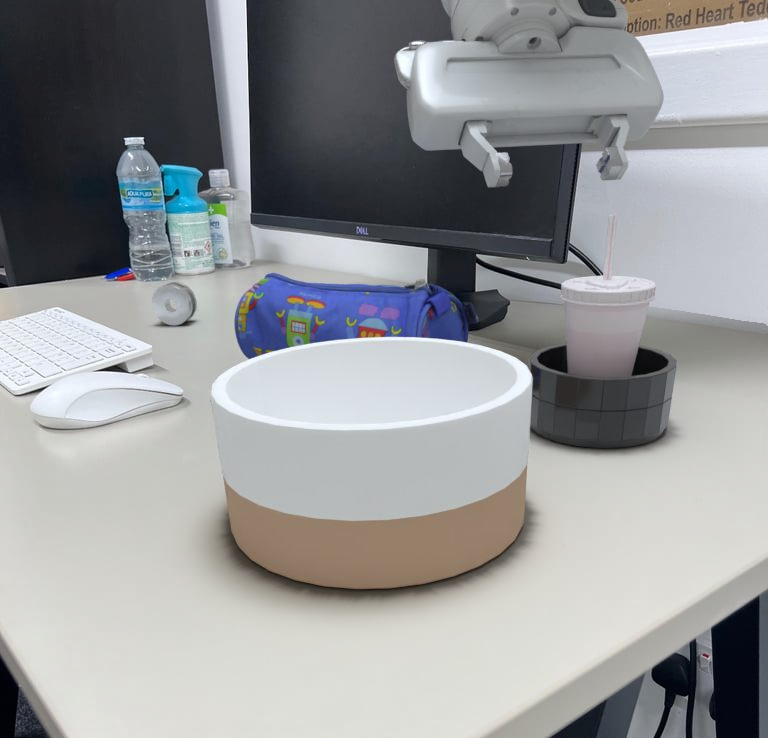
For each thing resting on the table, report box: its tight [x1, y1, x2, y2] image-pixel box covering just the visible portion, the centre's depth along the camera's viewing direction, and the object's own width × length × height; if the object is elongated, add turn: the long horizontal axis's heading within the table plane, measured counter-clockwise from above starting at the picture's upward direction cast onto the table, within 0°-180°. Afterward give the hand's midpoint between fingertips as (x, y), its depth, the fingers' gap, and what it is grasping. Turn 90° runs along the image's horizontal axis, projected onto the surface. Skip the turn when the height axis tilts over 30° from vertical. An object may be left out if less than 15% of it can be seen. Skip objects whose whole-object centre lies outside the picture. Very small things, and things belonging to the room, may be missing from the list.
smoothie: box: [559, 213, 657, 377], centre depth 51 cm, size 6×6×14 cm
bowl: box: [209, 337, 533, 590], centre depth 41 cm, size 17×17×8 cm
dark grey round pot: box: [527, 343, 678, 449], centre depth 53 cm, size 10×10×5 cm
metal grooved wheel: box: [151, 281, 198, 326], centre depth 92 cm, size 5×3×5 cm, turn 82°
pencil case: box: [234, 272, 480, 360], centre depth 65 cm, size 22×9×10 cm, turn 57°
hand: (559, 177), depth 54 cm, fingers open, 8 cm apart
